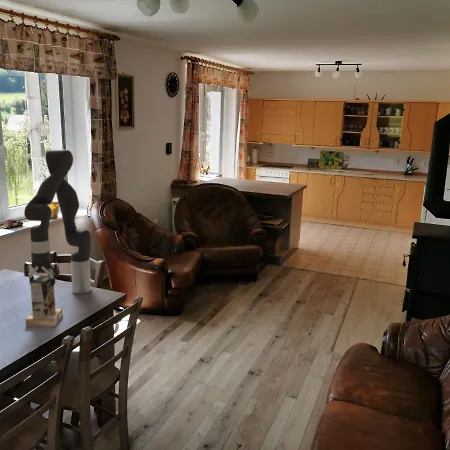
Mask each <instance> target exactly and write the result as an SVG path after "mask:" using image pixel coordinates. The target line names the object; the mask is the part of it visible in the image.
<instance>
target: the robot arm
mask: <svg viewBox="0 0 450 450" xmlns="http://www.w3.org/2000/svg"><path fill="white" fill-rule="evenodd" d="M45 163H46V167H47V169H48V171H49V172H48V173H49V175H48V177H47V178H45V179H44V180H43V181H42V182H41V183H40V185H39V187H38V190H37V192H36V194H35V195H34V196H33V197H32V199H31V200H29V202H28V203H27V204H26V206H25V208H24V211H23V212H24V213H23V214H24V217H25V219H26V220H28V221H32V222H33V221H34V222H40V224H39V225H34V226H31V228H30V255H31V256H30V257H31V262H30V261H26V262H25V263H24V265H23V267H24V268H23V271H24V272H23V276H24V277H25V278H26V277H28V281H29V285H30V286H31V282H32V281H33V280H35V276H34V275H36V273H37V274H47V275H46V276H50V277H51V286H54V287H55V285H56V278H58V277H59V276H60V275H61V274H60V273H61V272H60V265H59V263H58V261H56V262H54V263H53V262H51V261H52V260H51V245H50V240H49V238H50V237H49V228H50V223H51V218H52V214H53V213H52V208H51V207H50V205H51V204H52V203H53V201H54V198H55V196H56V198H57V203H58V206H59V210H60V214H61V217H62V222H63V228H64V229H63V230H64V234H65V240H66V242H67V244H68V245H69V246H70V247H77V248H78V251H75V252H72V253H71V255H70V266H71V267H70V272H71V273H70V274H71V292H72V293H74V294H78V295H82V294H87V293H89V292H90V291H91V290H92V289H91V286H92V285H91V264H90V263H91V262H90V261H91V259H90V255H91V250H92V249H91V248H92V246H91V245H92V243H91V242H92V235H91V233H90V231H89V230H88V229H85V228H78V227H77V225H76V216H77V213H78V211H79V208H80V202H79V197H78V194H77V191H76V189H75V188H74V187H73V186H72V185H71V184H70V183H69V182H68V181H67V180H66V179H65V178H66V177H67V174H68V173H69V172H70V170H71V168H72V166H73V163H74V156H73V153H72V151H70V150H68V149H49V150H47V151H46V153H45ZM30 267H31V268H32V271H31V272H30ZM51 267H52V268H51ZM53 269H54V270H53Z"/></svg>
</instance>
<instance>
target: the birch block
mask: <svg viewBox="0 0 450 450" xmlns="http://www.w3.org/2000/svg"><path fill="white" fill-rule="evenodd" d="M62 317H63V307H55V310H54V311H53V312H52V313H51V314H50V315H49V316H47V317H46V318H41V317H33V313H32V311H31V312H30V313H29V314H28V315H27V317H25V327H27V328H28V327H29V328H32V327H33V328H55V327H56V325H57V324H58V322H59V321H60V319H61V318H62Z"/></svg>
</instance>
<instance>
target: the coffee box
mask: <svg viewBox="0 0 450 450" xmlns="http://www.w3.org/2000/svg"><path fill="white" fill-rule="evenodd" d="M30 295H31V296H30V297H31V309H32V311H31V312H32V313H33V317H41V318H46V317H47V316H49V315H50V314H51V313H52V312H53V311H54V310H55V308H56V297H55V296H56V295H55V285H54V286H51V277H50V276H49V275H39V276H38V277H36V278H34V280H33V281H32V282H31V285H30Z"/></svg>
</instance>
